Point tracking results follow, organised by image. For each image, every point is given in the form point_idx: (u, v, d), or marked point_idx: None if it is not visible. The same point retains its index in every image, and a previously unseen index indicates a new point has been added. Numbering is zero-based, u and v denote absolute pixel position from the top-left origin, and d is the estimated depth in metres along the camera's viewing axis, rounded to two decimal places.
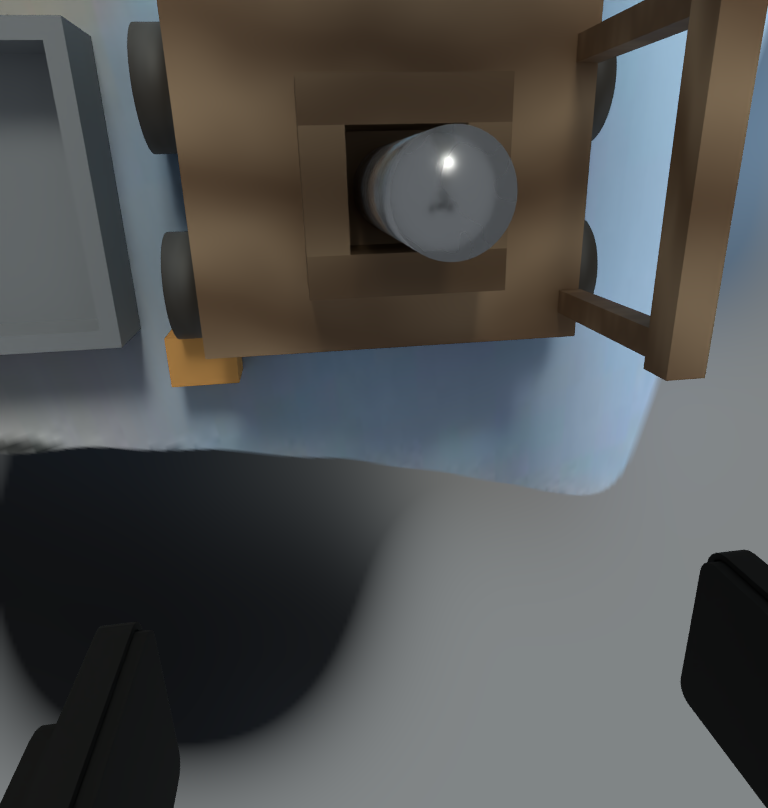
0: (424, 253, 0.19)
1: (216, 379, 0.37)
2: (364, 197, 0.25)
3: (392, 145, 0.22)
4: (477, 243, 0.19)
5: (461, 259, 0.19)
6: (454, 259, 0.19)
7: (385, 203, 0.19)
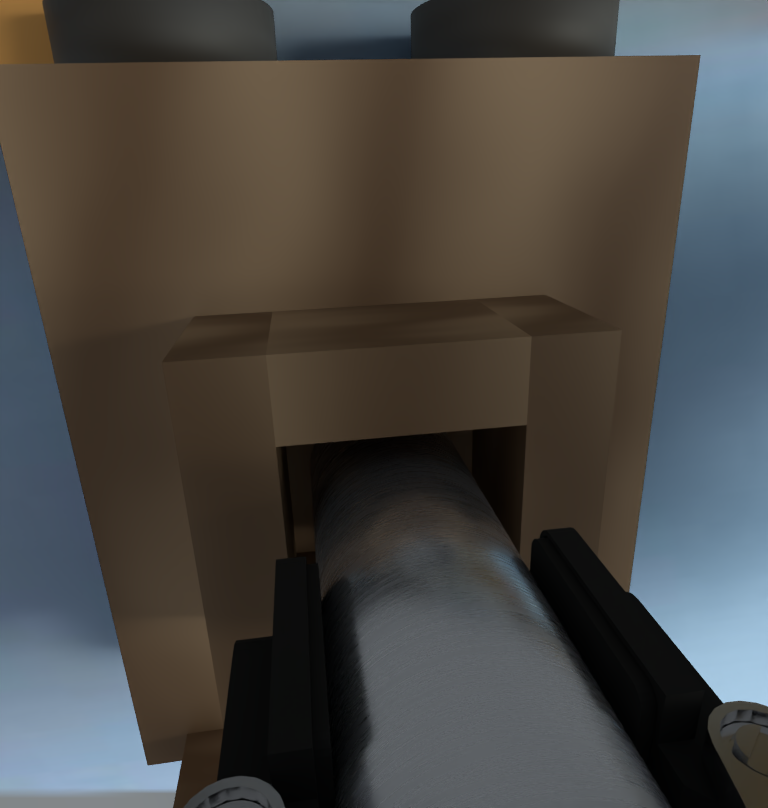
0: None
1: None
2: (402, 482, 0.12)
3: (533, 578, 0.10)
4: None
5: None
6: None
7: (504, 767, 0.06)
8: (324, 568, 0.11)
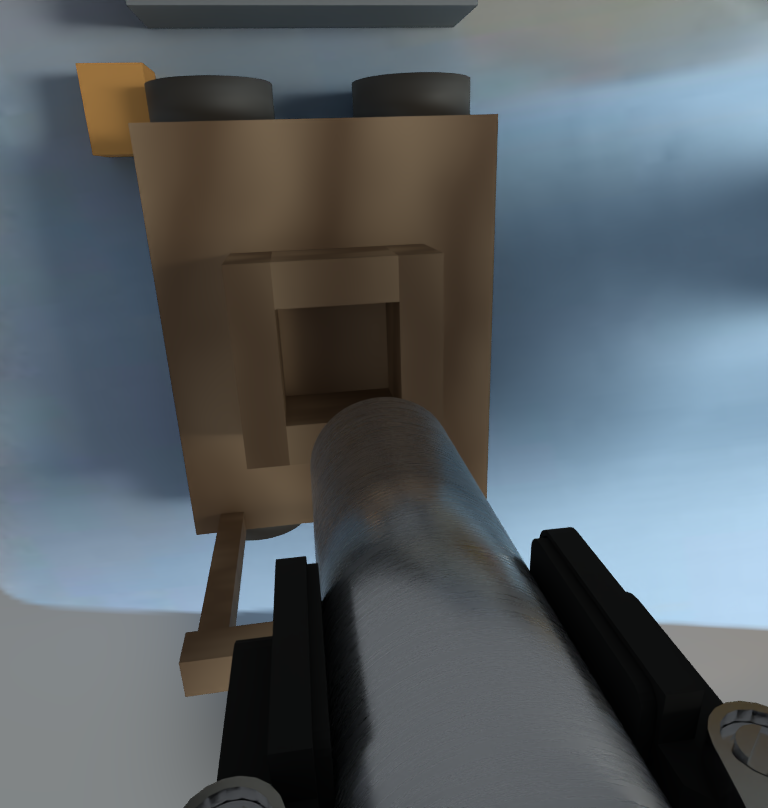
0: None
1: (93, 125, 0.29)
2: (402, 482, 0.12)
3: (532, 578, 0.10)
4: None
5: None
6: None
7: (503, 766, 0.06)
8: (324, 567, 0.11)
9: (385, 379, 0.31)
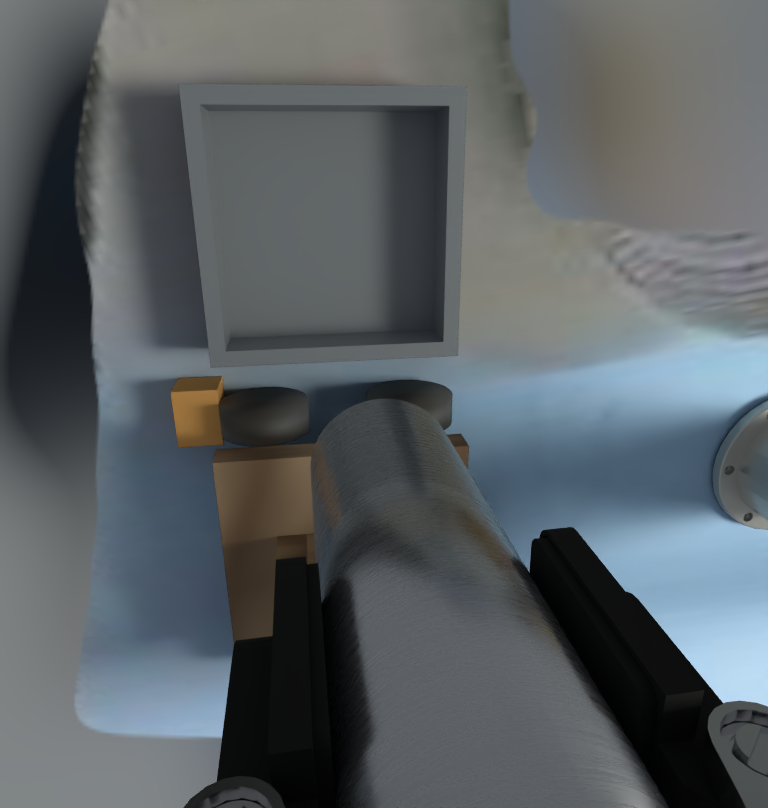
0: None
1: (180, 429, 0.41)
2: (402, 484, 0.12)
3: (533, 580, 0.10)
4: None
5: None
6: None
7: (503, 770, 0.06)
8: (324, 570, 0.11)
9: None
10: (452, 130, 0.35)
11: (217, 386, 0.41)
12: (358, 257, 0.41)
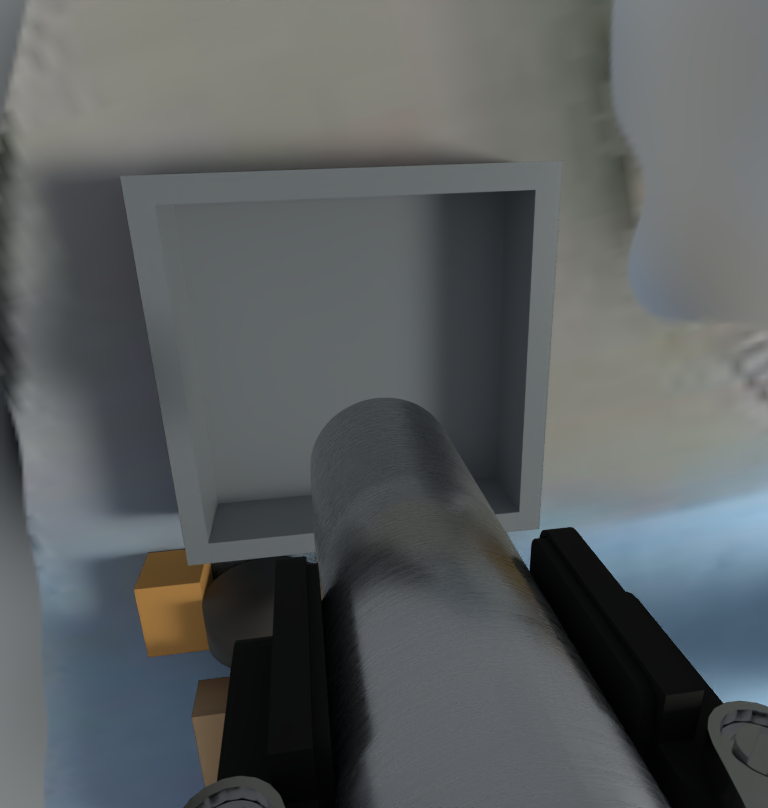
0: None
1: (150, 634, 0.29)
2: (401, 483, 0.12)
3: (533, 579, 0.10)
4: None
5: None
6: None
7: (504, 769, 0.06)
8: (324, 569, 0.11)
9: None
10: (539, 225, 0.23)
11: (200, 573, 0.29)
12: (394, 390, 0.29)
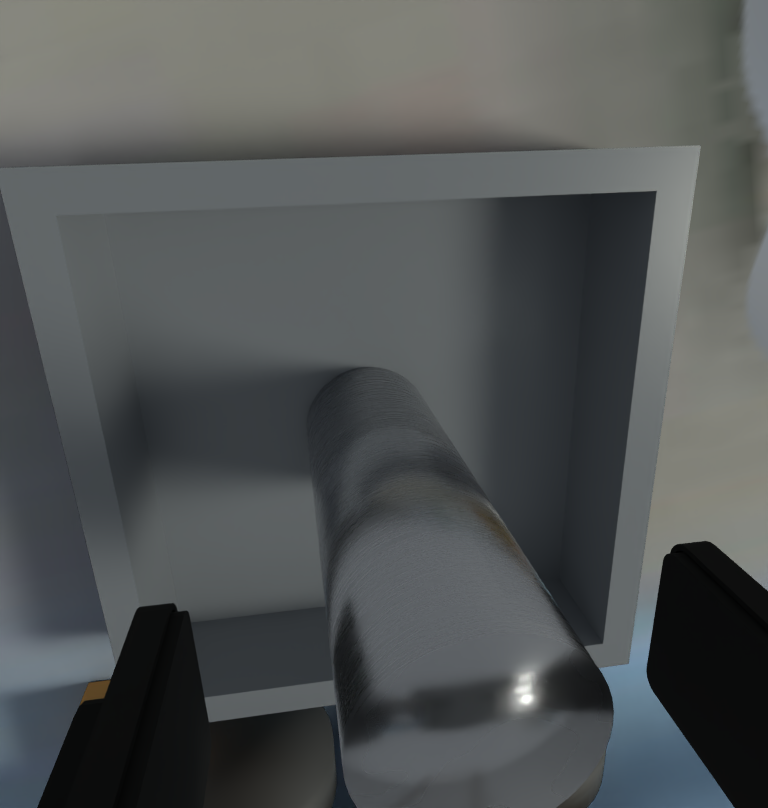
0: (362, 716, 0.08)
1: None
2: (383, 427, 0.15)
3: (486, 496, 0.13)
4: (383, 801, 0.09)
5: (349, 783, 0.08)
6: (348, 771, 0.08)
7: (450, 588, 0.09)
8: (321, 495, 0.14)
9: None
10: (658, 244, 0.15)
11: None
12: None
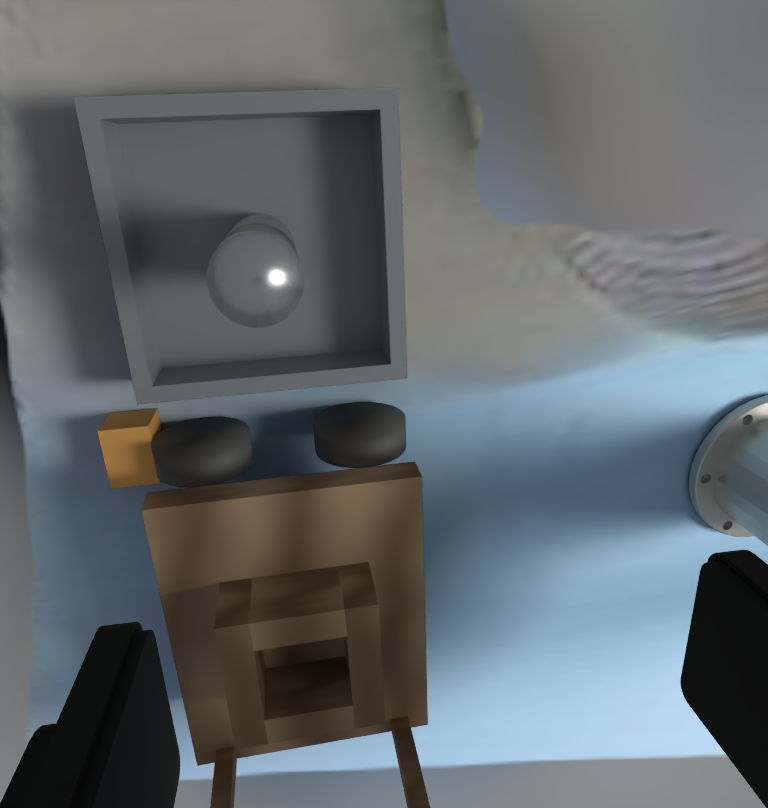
0: (211, 261, 0.25)
1: (111, 469, 0.38)
2: (251, 219, 0.31)
3: (289, 239, 0.30)
4: (222, 301, 0.26)
5: (209, 290, 0.25)
6: (209, 285, 0.25)
7: (245, 230, 0.26)
8: None
9: (343, 650, 0.40)
10: (385, 136, 0.32)
11: (149, 421, 0.38)
12: None
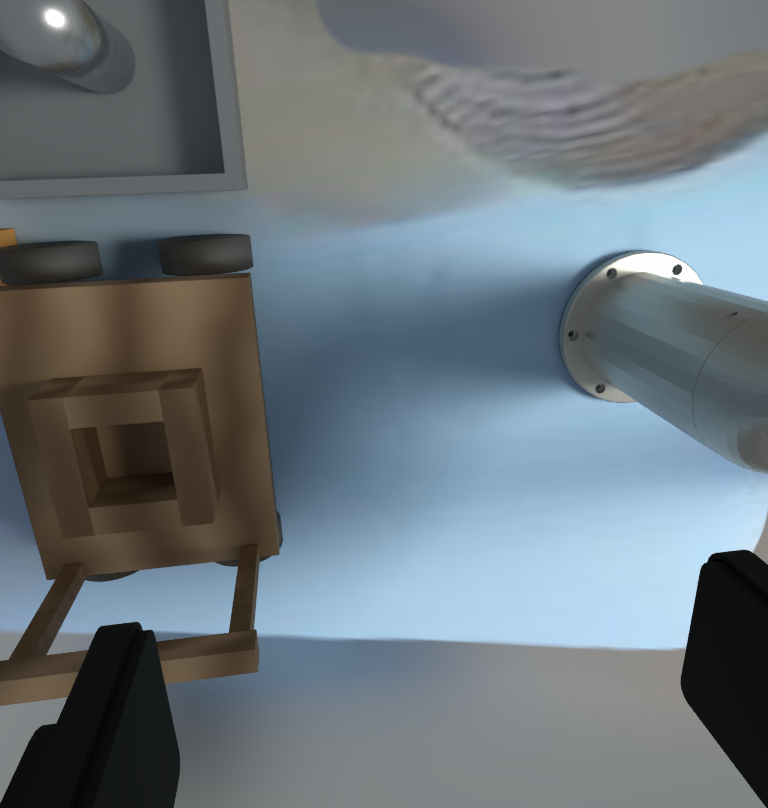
0: None
1: None
2: None
3: (91, 9, 0.31)
4: None
5: None
6: None
7: None
8: None
9: None
10: None
11: None
12: (138, 90, 0.39)
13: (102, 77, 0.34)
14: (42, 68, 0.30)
